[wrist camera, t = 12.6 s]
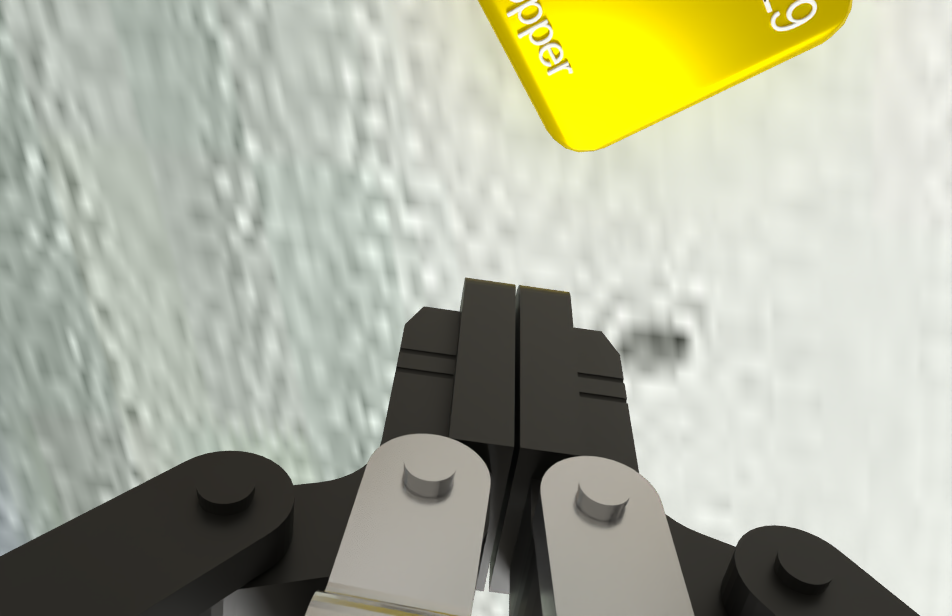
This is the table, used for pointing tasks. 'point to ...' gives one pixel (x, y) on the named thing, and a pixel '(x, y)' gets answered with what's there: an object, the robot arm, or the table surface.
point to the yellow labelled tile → (646, 55)
